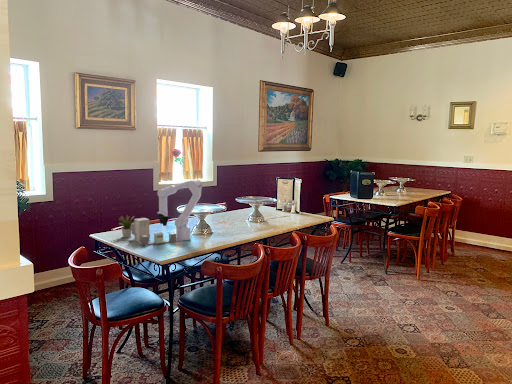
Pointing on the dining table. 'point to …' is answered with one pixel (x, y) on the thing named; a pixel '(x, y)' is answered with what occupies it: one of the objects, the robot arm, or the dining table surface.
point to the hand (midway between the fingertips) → (163, 224)
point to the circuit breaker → (140, 228)
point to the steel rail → (157, 243)
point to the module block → (158, 237)
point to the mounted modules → (145, 238)
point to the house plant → (126, 227)
